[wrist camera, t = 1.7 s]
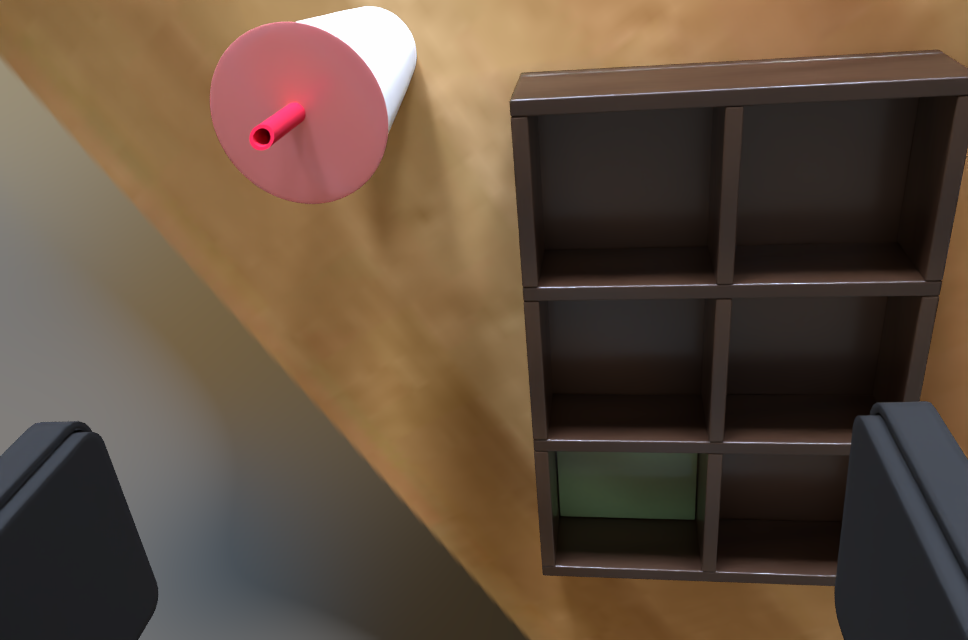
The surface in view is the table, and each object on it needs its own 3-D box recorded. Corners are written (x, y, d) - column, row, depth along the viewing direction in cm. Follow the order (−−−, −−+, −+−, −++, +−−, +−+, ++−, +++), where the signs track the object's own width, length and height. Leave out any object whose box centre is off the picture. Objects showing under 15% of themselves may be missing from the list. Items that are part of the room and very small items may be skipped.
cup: (362, -55, 31) (234, -4, 20) (471, 51, 32) (402, 151, 22) (278, 53, 33) (124, 149, 23) (382, 149, 35) (282, 281, 24)
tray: (520, 72, 32) (509, 99, 29) (939, 49, 30) (982, 75, 27) (548, 516, 43) (542, 575, 39) (861, 524, 40) (884, 588, 37)
